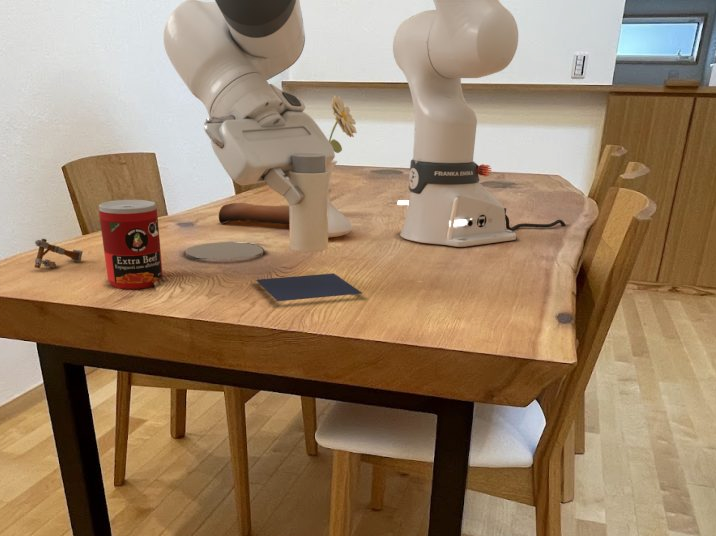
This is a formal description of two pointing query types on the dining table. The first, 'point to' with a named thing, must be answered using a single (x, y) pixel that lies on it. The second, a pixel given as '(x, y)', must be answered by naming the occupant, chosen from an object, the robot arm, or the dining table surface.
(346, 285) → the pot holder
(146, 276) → the canned food
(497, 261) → the dining table surface
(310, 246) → the shaker
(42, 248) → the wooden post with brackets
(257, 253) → the coaster
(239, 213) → the sunglasses case
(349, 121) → the flower in vase
